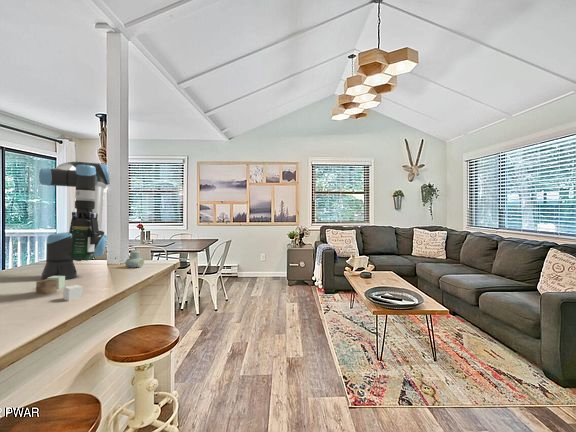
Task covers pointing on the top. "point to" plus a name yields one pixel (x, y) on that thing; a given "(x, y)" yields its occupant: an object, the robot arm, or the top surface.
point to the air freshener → (134, 260)
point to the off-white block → (73, 293)
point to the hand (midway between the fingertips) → (83, 250)
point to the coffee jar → (80, 240)
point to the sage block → (58, 281)
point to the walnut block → (46, 286)
